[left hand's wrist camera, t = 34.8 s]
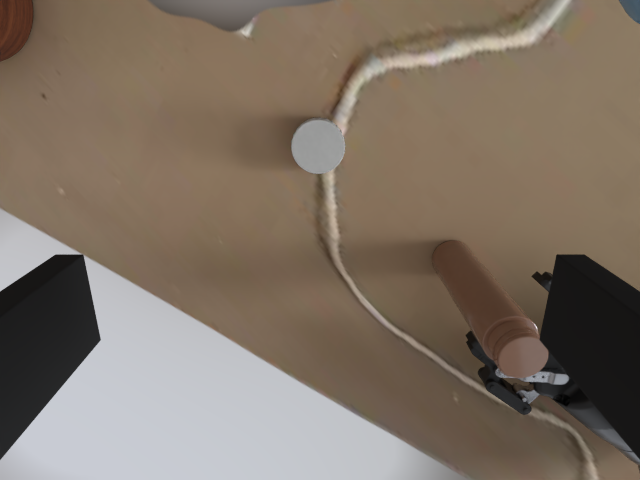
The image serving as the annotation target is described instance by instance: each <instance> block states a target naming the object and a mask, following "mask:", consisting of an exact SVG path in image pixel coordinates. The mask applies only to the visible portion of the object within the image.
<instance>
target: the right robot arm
mask: <svg viewBox="0 0 640 480" xmlns="http://www.w3.org/2000/svg"><path fill="white" fill-rule="evenodd" d="M532 277H533V278H534V279H535V280H536V281H537V282H538V283H539V284H540V285H542V286H543V287H544V288H545V289H546V290H547V291H548V292H549V290H550V285H551V280H552V274H551V273H548V272H545V273H543V274H542V275H541V274H540V273H538V272H536V273H535V274H533V275H532ZM466 337H467V339H468V341H467V342H466V343H467V345H468V347H469V349H470V350H471V352H472V354H473V355H474V356H475V357H477V358H478V359H479V360H480V361H482V362H483V363H484V364H485V366H484V367H482V368H480V369H479V370H478V375H479V376H480V378H481V379H482V381H483V383H484V385H485V387H486V389H487V391H489V392H490V393H492V394H493V395H495V396H496V397H498V398H499V399H501V400H502V401H503V402H505V403H506V404H508V405H509V406H511V407H512V408H514V409H515V410H517V411H518V412H520V413H521V414H523V415H526V414H529V413H530V412H531V406H530V405H529V404H530V403H531V402H532V401H533V400H534V399H535V398H536V397H537V396H539V395H543V396H548V397H550V398H552V399H553V400H554V401H555V402H557V403H558V404H559V405H560V406H562V407H563V408H564V409H565V410H566V411H568V412H569V413H570V414H571V415H573V416H574V417H575V418H576V419H577V420H579V421H580V422H581V423H582V424H584V425H585V426H586V427H587V428H588V429H590V430H591V431H592V432H593V433H595V434H596V435H597V436H599V437H600V438H602V439H603V440H605V441H607V442H609V443H610V444H612V445H613V446H614V447H615V448H617V449H618V450H619V451H620V452H622V453H623V454H624V455H625V456H626V457H628V458H629V459H630V460H631V461H633V462H634V463H636V464H637V465H638V468H639V472H640V459H639V458H638V457H637V456H636V455H635V453H634V452H633V451H632V450H631V449H630V448H629V446H628V445H627V444H626V443H625V442H624V440H623V439H622V438H621V437H620V436H619V434H618V433H617V432H616V431H615V430H614V428H613V427H612V426H611V425H610V424H609V422H608V421H607V420H606V419H605V418H604V417H603V415H602V414H601V413H600V412H599V411H598V409H597V408H596V407H595V406H594V405H593V403H592V402H591V401H590V400H589V399H588V397H587V396H586V395H585V394H584V393H583V391H582V390H581V389H580V388H579V387H578V385H577V384H576V383H575V382H574V381H573V380H572V378H571V377H570V376H569V375H568V374H567V372H566V371H565V370H564V369H563V368H562V366H561V365H560V364H559V363H558V362H557V360H556V359H555V358H554V357H553V356H552V354H551V353H550V352H549V351H548V360H547V362H546V364H545V366H544V367H543V368H542V369H541V370H540V371H539V372H538V373H536V374H534V375H532V376H530V377H526V378H518V379H519V380H521V381H525V382H529V383H530V384H529V385H528V386H522V385H517V383H514V384H513V385H511V384H510V383H508V382H507V381H505V380H504V379H503V378H501V377H506V378H514V377H508V376H505V375H504V374H503V373H502V372H501V371H500V370H499V369H498V367H497V365H496V364H495V362H494V361H493V360H492V359H490V358H489V357H488V356H487V355H486V354H485V352H484V350H483V349H482V347H481V345H480V344H479V342H478V340H477V339H476V337H475V335H474V334H473V332H472V331H470V332H469V333H467V334H466Z"/></svg>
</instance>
